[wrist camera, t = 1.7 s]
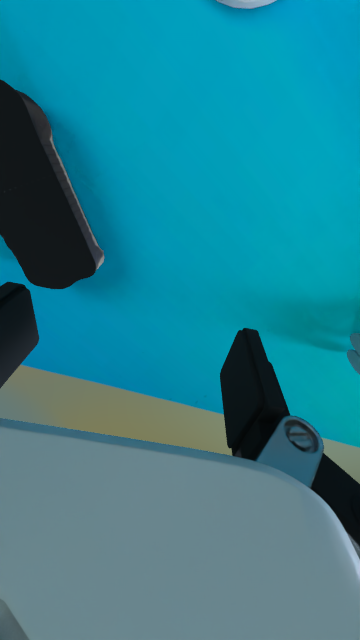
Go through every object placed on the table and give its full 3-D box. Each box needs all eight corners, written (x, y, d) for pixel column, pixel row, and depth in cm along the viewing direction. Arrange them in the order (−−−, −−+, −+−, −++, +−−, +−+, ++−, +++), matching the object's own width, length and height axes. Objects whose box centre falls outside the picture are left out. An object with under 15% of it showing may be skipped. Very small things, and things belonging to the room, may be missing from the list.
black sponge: (-45, 116, 21) (-84, 110, 18) (38, 85, 20) (9, 73, 17) (51, 280, 30) (35, 294, 27) (112, 267, 29) (103, 280, 26)
